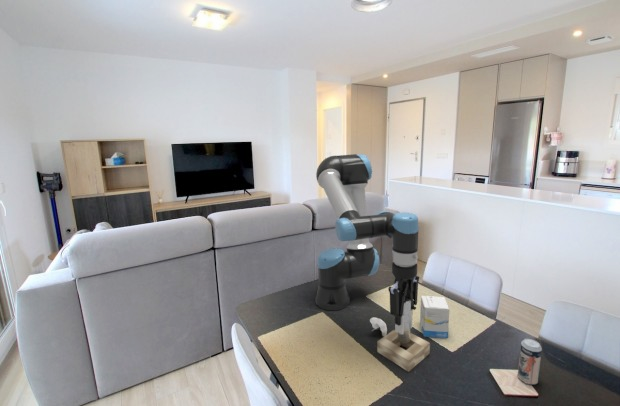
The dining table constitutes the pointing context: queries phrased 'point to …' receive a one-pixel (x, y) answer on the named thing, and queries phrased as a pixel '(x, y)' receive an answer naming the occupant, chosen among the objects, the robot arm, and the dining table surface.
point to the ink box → (434, 316)
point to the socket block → (398, 355)
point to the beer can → (529, 361)
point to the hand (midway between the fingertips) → (403, 329)
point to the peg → (406, 322)
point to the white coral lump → (379, 325)
